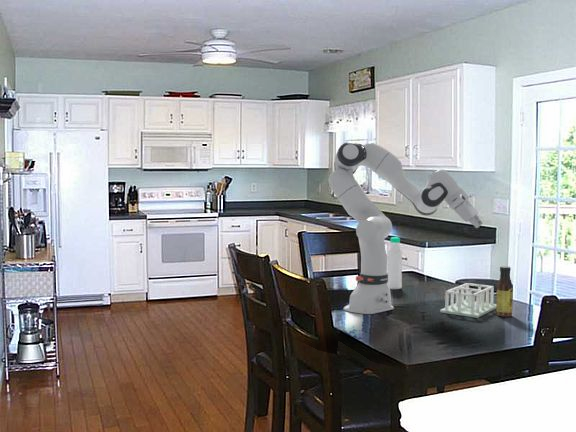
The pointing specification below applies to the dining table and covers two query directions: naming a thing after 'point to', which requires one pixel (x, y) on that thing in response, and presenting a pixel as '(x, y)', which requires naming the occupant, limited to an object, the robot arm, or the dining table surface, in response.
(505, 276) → the sauce bottle
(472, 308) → the dish rack
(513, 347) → the dining table surface
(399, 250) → the water bottle
